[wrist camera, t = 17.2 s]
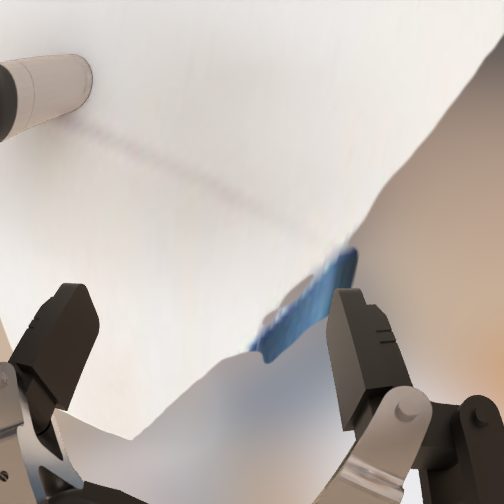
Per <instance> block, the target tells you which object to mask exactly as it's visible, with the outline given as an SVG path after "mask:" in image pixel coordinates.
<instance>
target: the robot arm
mask: <svg viewBox="0 0 504 504" xmlns="http://www.w3.org/2000/svg"><path fill="white" fill-rule="evenodd" d="M91 86H92V73H91V70H90V67H89V65H88V64H87V62H86V61H85V60H84V59H83V58H82V57H80V56H78V55H73V54H69V55H52V56H41V57H32V58H24V59H17V60H10V61H4V62H0V142H2V141H4V140H6V139H8V138H10V137H12V136H14V135H16V134H18V133H20V132H23V131H25V130H27V129H29V128H31V127H34V126H36V125H38V124H41V123H43V122H46V121H48V120H50V119H53V118H55V117H58V116H61V115H63V114H66V113H69V112H71V111H74V110H76V109H77V108H79V107H80V106H81V105H82V104H83V103H84V102H85V101H86V99H87V97H88V96H89V93H90V91H91ZM391 330H392V329H391V326H390V324H389V321H388V319H387V317H386V315H385V314H384V313H383V312H382V311H381V310H380V309H379V308H378V307H377V306H376V305H375V304H374V305H366V302H365V299H364V297H363V294H362V292H361V290H360V289H358V288H350V289H335V291H334V293H333V298H332V303H331V308H330V312H329V317H328V322H327V329H326V338H327V345H328V350H329V355H330V361H331V366H332V371H333V376H334V382H335V386H336V393H337V398H338V404H339V409H340V416H341V422H342V428H343V431H351V430H354V432H355V437H356V441H355V442H354V444H353V446H352V447H351V449H350V451H349V452H348V454H347V455H346V457H345V458H344V460H343V461H342V463H341V465H340V466H339V467H338V469H337V470H336V472H335V473H334V475H333V476H332V478H331V479H330V481H329V482H328V483H327V485H326V486H325V488H324V489H323V491H322V492H321V493H320V494H319V496H318V497H317V498H316V499H315V500H314V502H313V503H312V504H400V502H401V500H402V497H403V494H404V489H403V488H402V486H403V483H404V480H405V478H406V476H407V474H408V472H409V470H410V469H418V470H419V477H420V483H421V490H422V498H423V504H504V425H503V422H502V419H501V416H500V413H499V410H498V408H497V406H496V405H495V404H494V403H493V401H491V400H490V399H489V398H487V397H484V396H481V395H474V396H471V397H469V398H467V399H466V400H465V401H464V402H463V403H462V404H461V405H450V404H441V403H435V402H431V401H430V400H429V399H428V397H427V396H426V395H425V394H424V393H423V392H422V391H420V390H418V389H416V388H414V387H413V385H412V383H411V380H410V377H409V374H408V371H407V368H406V366H405V363H404V360H403V357H402V355H401V352H400V349H399V347H398V345H397V343H396V339H395V336H394V334H393V332H392V331H391ZM98 333H99V318H98V315H97V313H96V310H95V308H94V305H93V303H92V300H91V298H90V295H89V292H88V290H87V288H86V286H85V285H84V284H75V283H63V284H62V285H61V286H60V287H59V289H58V290H57V292H56V294H55V295H54V297H51V298H50V299H49V300H48V301H46V302H45V303H44V304H43V305H42V306H41V307H40V309H39V310H38V312H37V313H36V315H35V317H34V320H32V321H31V323H30V325H29V329H27V330H26V331H25V333H24V335H23V336H22V338H21V340H20V341H19V343H18V345H17V347H16V348H15V350H14V352H13V354H12V356H11V357H10V359H9V361H8V362H0V504H148V503H146V502H143V501H141V500H139V499H137V498H135V497H132V496H130V495H128V494H126V493H124V492H122V491H120V490H116V489H112V488H108V487H104V486H100V485H97V484H93V483H90V482H87V481H84V482H83V480H82V479H81V477H80V476H79V474H78V473H77V472H76V471H75V469H74V468H73V466H72V464H71V462H70V460H69V457H68V455H67V452H66V449H65V446H64V444H63V441H62V438H61V435H60V431H59V428H58V425H57V422H56V419H55V417H54V415H53V411H54V409H55V408H57V409H61V410H65V411H67V410H68V407H69V405H70V402H71V399H72V397H73V394H74V391H75V389H76V386H77V384H78V381H79V378H80V376H81V373H82V371H83V369H84V366H85V364H86V361H87V359H88V357H89V354H90V352H91V349H92V347H93V345H94V343H95V340H96V338H97V336H98Z"/></svg>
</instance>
